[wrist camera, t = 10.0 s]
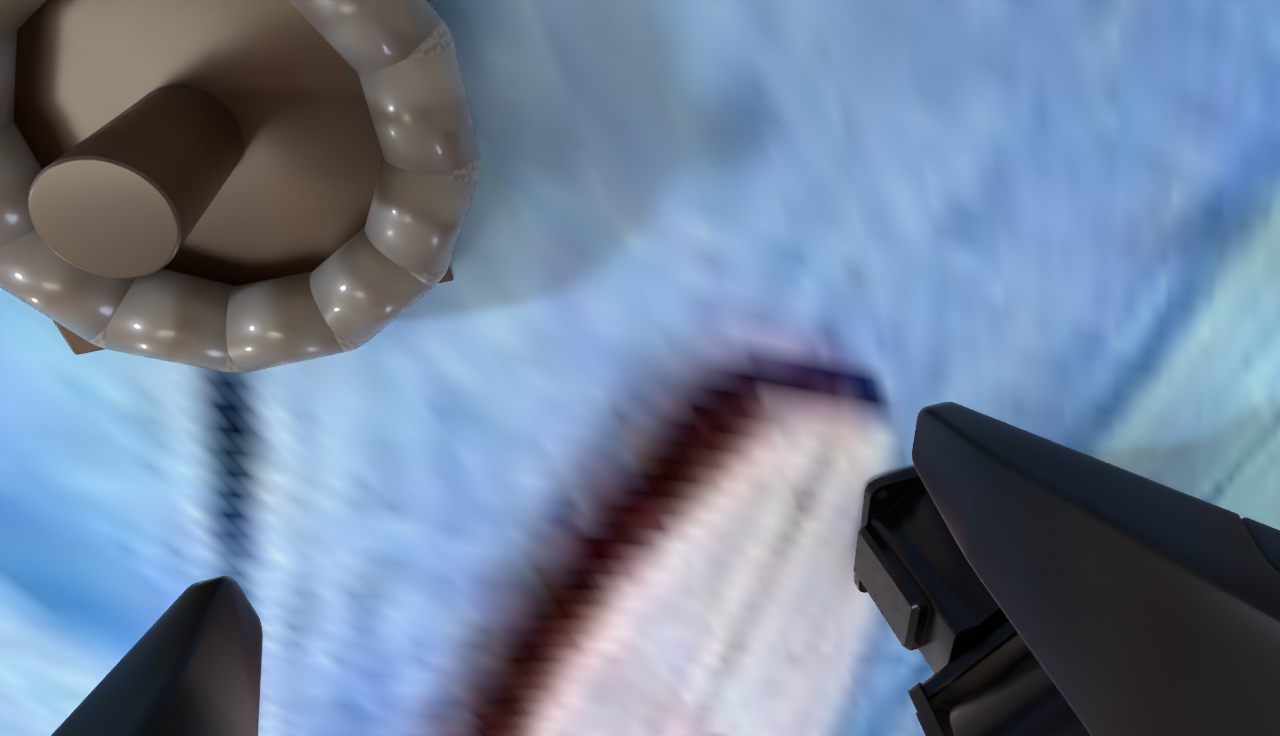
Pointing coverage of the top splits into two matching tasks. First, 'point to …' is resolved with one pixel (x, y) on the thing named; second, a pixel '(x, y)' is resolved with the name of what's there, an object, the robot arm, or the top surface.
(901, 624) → the robot arm
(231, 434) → the top surface
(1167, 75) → the top surface
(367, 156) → the tape stand
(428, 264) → the grey-brown segmented ring
